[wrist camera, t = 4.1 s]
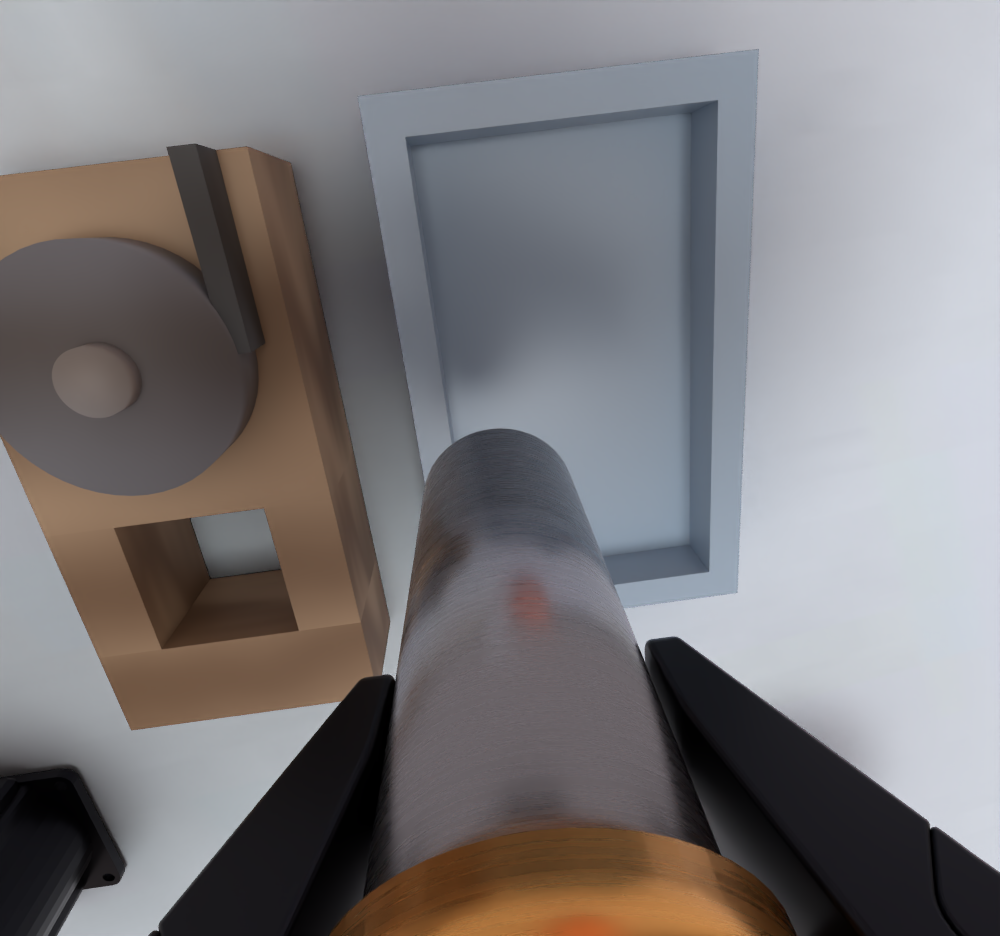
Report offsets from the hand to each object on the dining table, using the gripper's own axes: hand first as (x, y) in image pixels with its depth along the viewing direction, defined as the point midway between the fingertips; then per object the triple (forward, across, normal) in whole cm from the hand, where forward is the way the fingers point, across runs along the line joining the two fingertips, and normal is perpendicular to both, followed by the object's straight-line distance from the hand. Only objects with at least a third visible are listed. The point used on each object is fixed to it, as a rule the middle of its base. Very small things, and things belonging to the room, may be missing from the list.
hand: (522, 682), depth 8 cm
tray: (+14, -3, -1) cm, 14 cm away
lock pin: (+6, 0, 0) cm, 6 cm away
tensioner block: (+14, +9, 0) cm, 16 cm away
